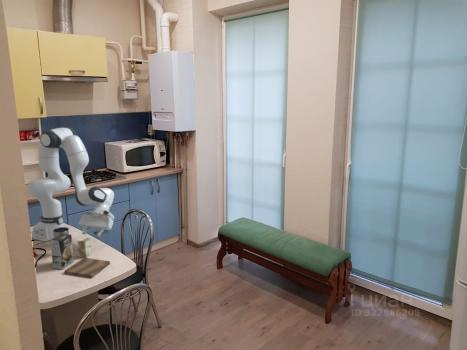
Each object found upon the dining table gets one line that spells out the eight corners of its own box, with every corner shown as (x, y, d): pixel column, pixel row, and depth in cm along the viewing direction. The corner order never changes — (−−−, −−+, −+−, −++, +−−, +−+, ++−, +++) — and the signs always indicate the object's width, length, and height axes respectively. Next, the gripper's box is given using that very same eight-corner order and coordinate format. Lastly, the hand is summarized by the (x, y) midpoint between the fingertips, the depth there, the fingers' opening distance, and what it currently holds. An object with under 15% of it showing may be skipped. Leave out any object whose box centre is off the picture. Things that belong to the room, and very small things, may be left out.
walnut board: (64, 273, 185) (64, 270, 185) (84, 260, 200) (84, 257, 200) (92, 278, 181) (92, 275, 181) (109, 263, 197) (109, 261, 196)
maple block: (78, 256, 204) (77, 240, 201) (84, 253, 208) (82, 237, 206) (86, 258, 203) (85, 241, 200) (91, 254, 207) (90, 238, 205)
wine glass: (73, 252, 209) (71, 227, 206) (64, 258, 202) (62, 232, 199) (61, 250, 211) (59, 226, 208) (52, 256, 204) (49, 231, 200)
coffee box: (63, 269, 189) (60, 240, 186) (52, 268, 190) (49, 239, 187) (74, 261, 198) (71, 234, 194) (63, 260, 199) (61, 233, 195)
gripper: (82, 209, 216) (72, 230, 209) (112, 212, 212) (104, 234, 204) (87, 214, 221) (78, 235, 214) (117, 217, 217) (108, 238, 210)
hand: (91, 234), depth 209 cm, fingers open, 8 cm apart
